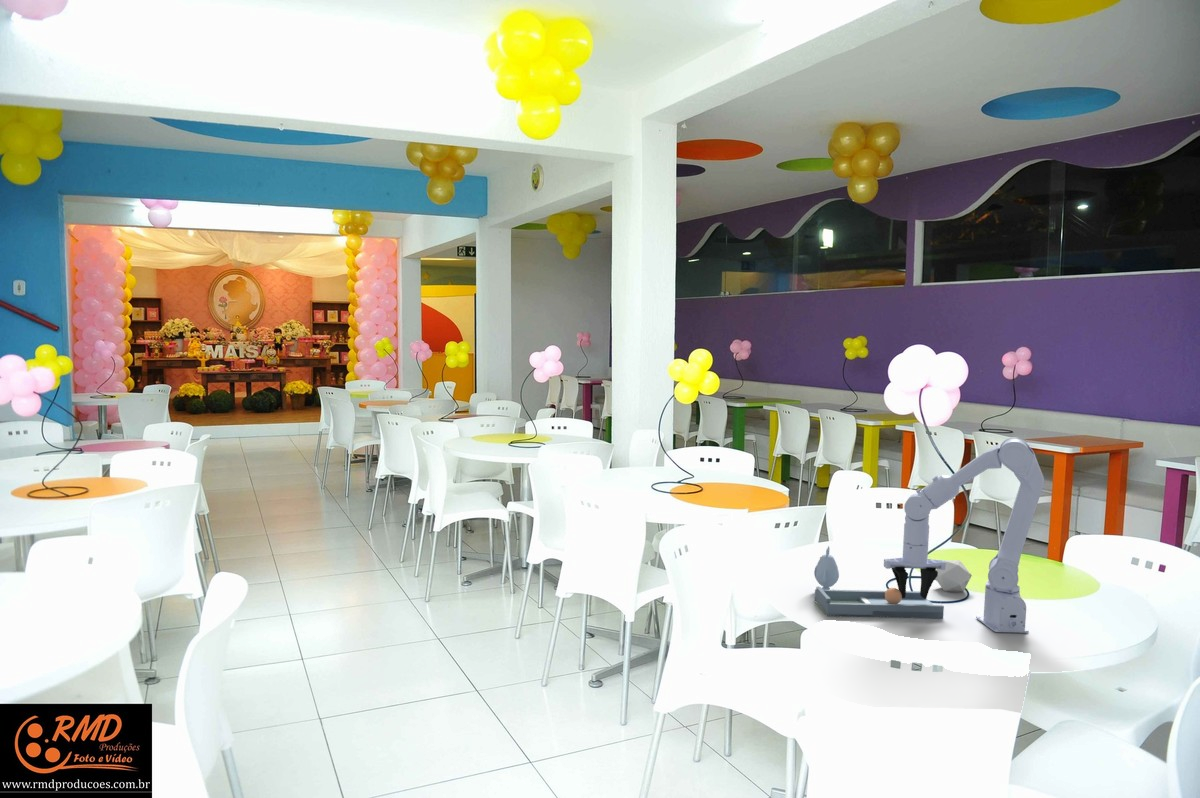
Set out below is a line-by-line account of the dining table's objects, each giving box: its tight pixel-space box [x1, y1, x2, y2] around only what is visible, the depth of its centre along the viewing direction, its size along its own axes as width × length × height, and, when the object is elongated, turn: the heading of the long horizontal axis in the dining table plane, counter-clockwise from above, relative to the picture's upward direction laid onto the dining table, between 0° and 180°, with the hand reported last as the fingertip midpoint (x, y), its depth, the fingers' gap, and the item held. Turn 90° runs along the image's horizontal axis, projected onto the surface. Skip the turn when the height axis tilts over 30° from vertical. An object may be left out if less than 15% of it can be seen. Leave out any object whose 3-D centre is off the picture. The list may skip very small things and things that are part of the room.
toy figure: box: [813, 545, 840, 590], centre depth 211 cm, size 11×6×12 cm, turn 156°
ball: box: [885, 587, 902, 604], centre depth 198 cm, size 4×4×4 cm
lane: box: [814, 586, 945, 619], centre depth 198 cm, size 11×28×4 cm, turn 90°
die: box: [935, 559, 973, 592], centre depth 215 cm, size 8×9×10 cm
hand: (912, 597), depth 198 cm, fingers open, 5 cm apart
